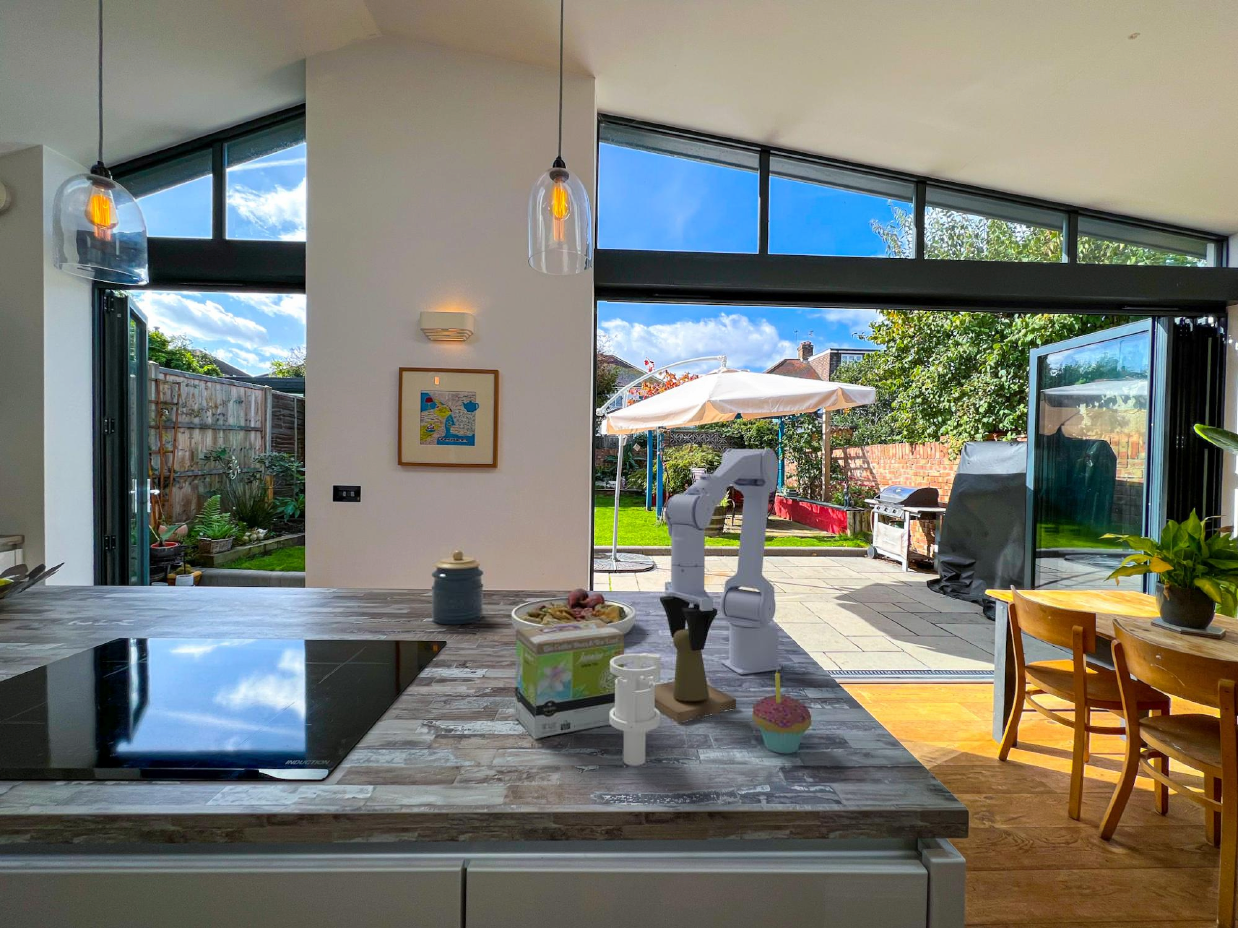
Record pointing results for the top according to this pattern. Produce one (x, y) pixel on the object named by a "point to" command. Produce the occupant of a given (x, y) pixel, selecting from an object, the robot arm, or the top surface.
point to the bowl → (575, 611)
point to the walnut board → (690, 703)
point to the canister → (457, 590)
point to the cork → (688, 670)
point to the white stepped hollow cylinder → (635, 702)
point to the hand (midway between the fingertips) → (687, 643)
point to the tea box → (565, 676)
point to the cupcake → (781, 720)
